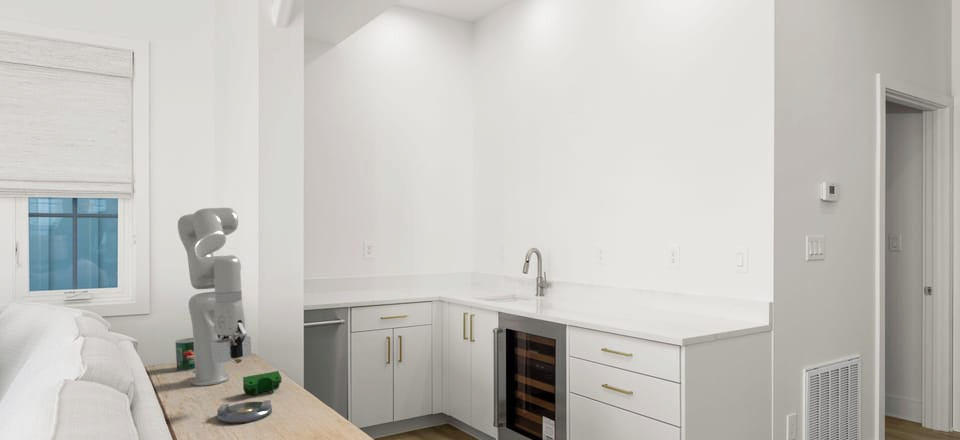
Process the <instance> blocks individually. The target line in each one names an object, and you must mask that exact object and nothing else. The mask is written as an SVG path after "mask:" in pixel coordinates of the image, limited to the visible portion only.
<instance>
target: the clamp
mask: <svg viewBox="0 0 960 440" xmlns="http://www.w3.org/2000/svg"><path fill="white" fill-rule="evenodd" d="M242 380H243V381H242V382H243V383H242V385H243V386H242V387H243V392H244V394H245V395H253V394H254V396H255V397H258V395H259V394H258V393H263V392H264V393H265V392H268V391H269V392H271V394H274V392H275V390H278V389H279V388H280V384H282V381H283V380H282V375H281V374H280V372H279V371H278V370H276V371H271V372H265V373H259V374H254V375H247V376H243V378H242Z"/></svg>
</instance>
